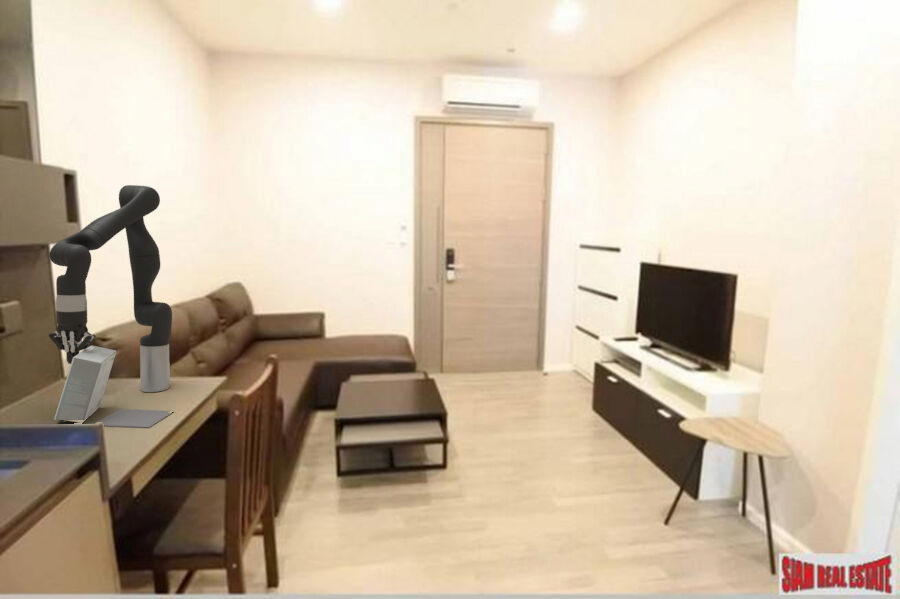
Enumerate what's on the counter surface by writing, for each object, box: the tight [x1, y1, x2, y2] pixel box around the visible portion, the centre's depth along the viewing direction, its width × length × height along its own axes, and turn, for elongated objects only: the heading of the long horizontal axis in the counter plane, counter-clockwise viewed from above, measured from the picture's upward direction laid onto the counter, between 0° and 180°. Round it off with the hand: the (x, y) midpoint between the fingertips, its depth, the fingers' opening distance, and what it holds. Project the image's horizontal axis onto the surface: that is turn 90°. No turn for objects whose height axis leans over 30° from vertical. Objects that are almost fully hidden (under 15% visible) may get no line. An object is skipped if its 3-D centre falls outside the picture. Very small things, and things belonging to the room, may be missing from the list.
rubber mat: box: [96, 408, 171, 429], centre depth 148 cm, size 14×17×1 cm
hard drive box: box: [53, 345, 117, 421], centre depth 147 cm, size 16×8×20 cm, turn 21°
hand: (73, 363), depth 146 cm, fingers closed
